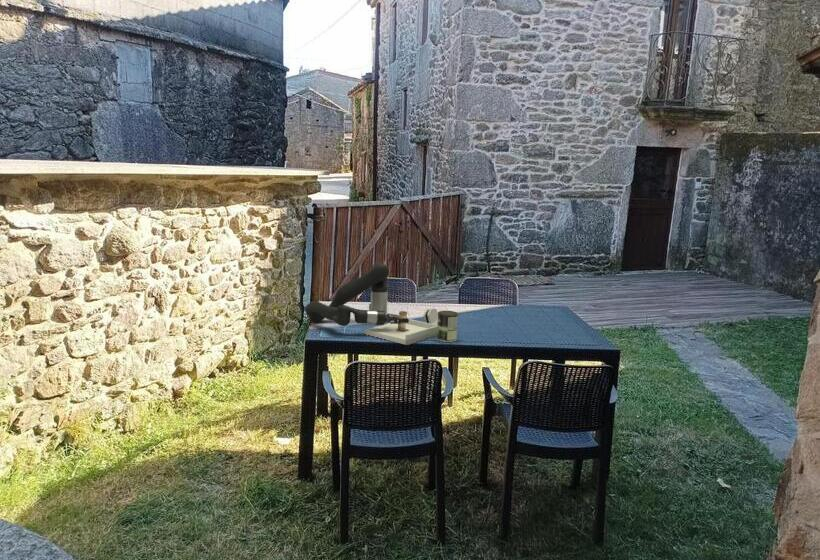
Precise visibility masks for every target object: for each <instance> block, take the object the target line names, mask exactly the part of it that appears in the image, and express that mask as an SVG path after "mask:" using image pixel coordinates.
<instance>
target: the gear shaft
mask: <svg viewBox="0 0 820 560" xmlns="http://www.w3.org/2000/svg"><path fill="white" fill-rule="evenodd" d="M398 315H399V318H407V319H408V317H407V315H408V312H407V311H405V310H400V311H399V312H398ZM398 321H399V320H398ZM405 327H406V323H401V324H398V330H397V331H401V332H405Z"/></svg>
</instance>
